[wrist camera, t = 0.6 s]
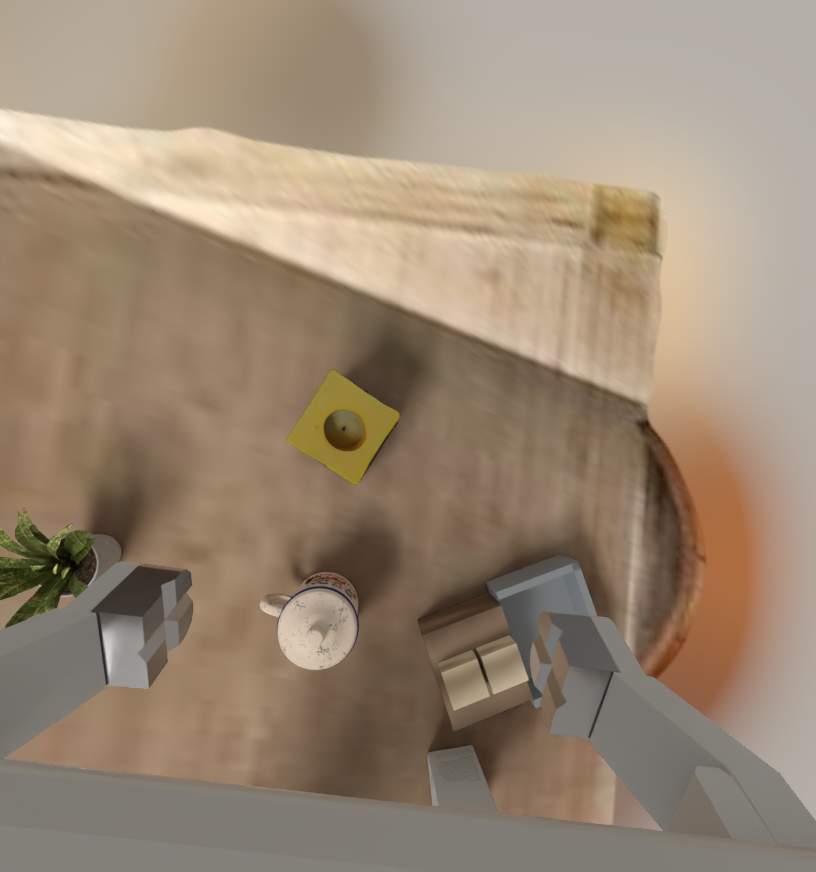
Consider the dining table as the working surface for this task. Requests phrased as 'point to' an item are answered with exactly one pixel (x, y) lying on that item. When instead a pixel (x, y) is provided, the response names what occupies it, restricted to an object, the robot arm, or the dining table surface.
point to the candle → (343, 427)
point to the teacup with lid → (316, 620)
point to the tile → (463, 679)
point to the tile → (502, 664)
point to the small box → (459, 780)
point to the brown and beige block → (461, 634)
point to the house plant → (52, 565)
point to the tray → (540, 601)
